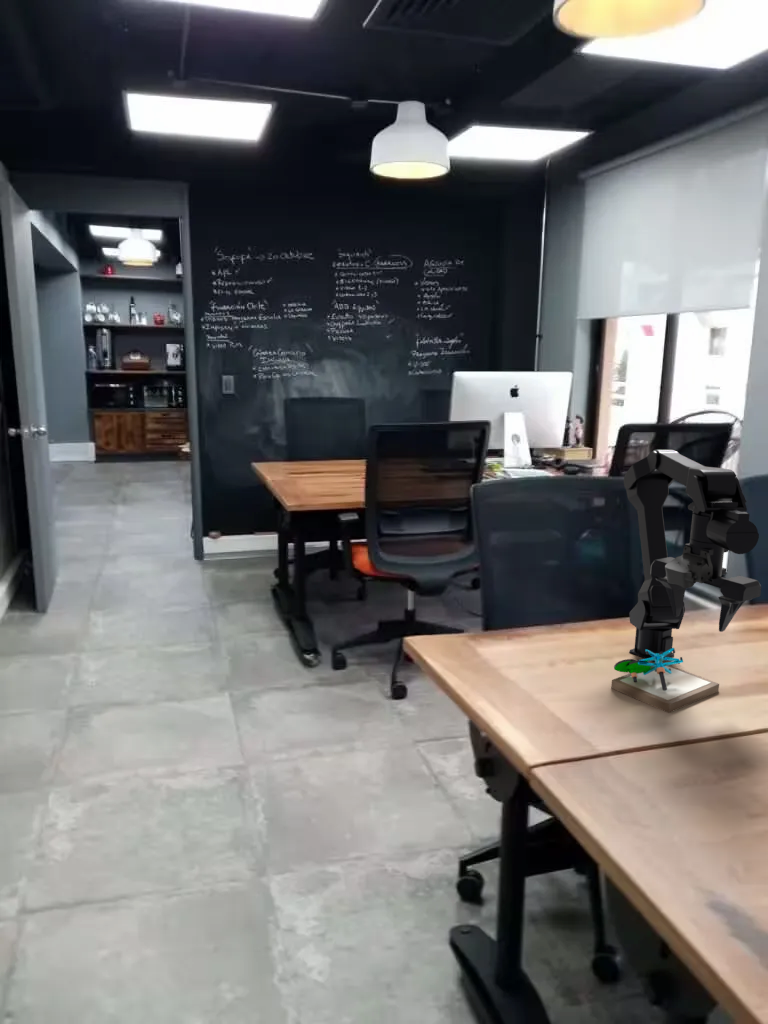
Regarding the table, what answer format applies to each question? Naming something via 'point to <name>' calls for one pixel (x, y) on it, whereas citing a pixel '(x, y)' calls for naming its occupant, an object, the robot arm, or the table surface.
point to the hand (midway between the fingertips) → (698, 623)
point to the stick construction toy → (649, 665)
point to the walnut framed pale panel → (679, 688)
